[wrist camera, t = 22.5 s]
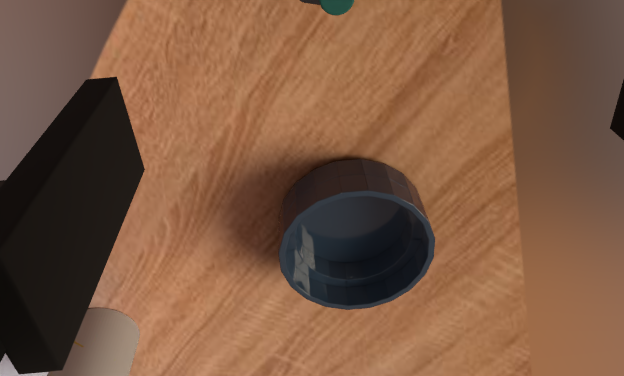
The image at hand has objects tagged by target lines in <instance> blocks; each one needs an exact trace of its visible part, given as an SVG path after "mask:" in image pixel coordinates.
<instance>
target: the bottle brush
mask: <svg viewBox="0 0 624 376" xmlns="http://www.w3.org/2000/svg"><path fill="white" fill-rule="evenodd" d="M319 3H320V5H321V7H322V9H323V10H324V11H325V12H327V13H328V14H331V15H341V14H344V13H346V12H347V11H348V10H349V9H350V8H351V7H352V5H353V3H354V0H319Z"/></svg>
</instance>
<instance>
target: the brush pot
mask: <svg viewBox="0 0 624 376" xmlns="http://www.w3.org/2000/svg"><path fill="white" fill-rule="evenodd" d="M300 1H301V2H304V3H310V4H317V5H320V3H319V0H300Z"/></svg>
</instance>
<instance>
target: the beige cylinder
mask: <svg viewBox="0 0 624 376" xmlns="http://www.w3.org/2000/svg"><path fill="white" fill-rule="evenodd" d="M139 337H140V331H139V328H138V326H137V324H136V323H135V322H134V321H133V320H132V319H131V318H130V317H128V316H127V315H125V314H123V313H121V312H119V311H116V310H112V309H107V308H91V309H87V312H86V314H85V317H84V319H83V321H82V324H81V326H80V329H79V331H78V334H77V336H76V339H75V341H74V343H73V346H72V348H71V351H70V353H69V356H68V358H67V361H66V363H65V365H64V368H63V370H62V371H51V372H48V375H47V376H129V373H130V369H131V366H132V362H133V359H134V355H135V352H136V348H137V345H138V341H139Z"/></svg>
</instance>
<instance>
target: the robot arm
mask: <svg viewBox="0 0 624 376" xmlns="http://www.w3.org/2000/svg"><path fill="white" fill-rule="evenodd" d="M610 129H612V130H613V131H614V132H615V133H616V134H617V135H618V136H619V137H621V138H622V139H623V140H624V80H623V84H622V88H621V91H620V94H619V98H618V102H617V105H616V109H615V112H614V116H613V119H612V123H611V127H610ZM144 170H145V169H144V166H143V162H142V159H141V156H140V152H139V149H138V146H137V142H136V139H135V136H134V132H133V129H132V126H131V123H130V119H129V116H128V113H127V109H126V106H125V103H124V99H123V96H122V93H121V89H120V86H119V83H118V80H117V77H110V78H99V79H88V80H86V81H85V82H84V83H83V85H82V86H81V87H80V88H79V90H78V91H77V92H76V93H75V94H74V96H73V97H72V98H71V100H70V101H69V102H68V103H67V105H66V106H65V107H64V108H63V110H62V111H61V112H60V113H59V115H58V116H57V117H56V118H55V120H54V121H53V122H52V123H51V125H50V126H49V127H48V128H47V130H46V131H45V132H44V133H43V135H42V136H41V137H40V138H39V140H38V141H37V142H36V143H35V145H34V146H33V147H32V148H31V150H30V151H29V152H28V153H27V155H26V156H25V157H24V158H23V160H22V161H21V162H20V163H19V165H18V166H17V167H16V168H15V170H14V171H13V172H12V173H11V175H10V176H9V177H8V178H7V180H5V181H4V180H3V181H0V362H1V360H2V358H3V356H4V354H5V353H6V354H7V356H8V358H9V359H10V361H11V362H12V364H13V366H14V367H15V369H16V370H17V372H18V373H19V374H28V373H39V372H51V371H62V370H63V368H64V365H65V363H66V361H67V358H68V356H69V353H70V351H71V348H72V346H73V343H74V341H75V339H76V336H77V334H78V331H79V329H80V326H81V324H82V321H83V319H84V317H85V314H86V312H87V309H88V307H89V304H90V302H91V299H92V297H93V295H94V292H95V290H96V287H97V285H98V282H99V280H100V277H101V275H102V273H103V270H104V268H105V265H106V263H107V260H108V258H109V255H110V253H111V251H112V248H113V246H114V243H115V241H116V238H117V236H118V233H119V231H120V229H121V226H122V224H123V221H124V219H125V216H126V214H127V211H128V209H129V207H130V204H131V202H132V199H133V197H134V194H135V192H136V190H137V187H138V185H139V182H140V180H141V177H142V175H143V172H144Z"/></svg>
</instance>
